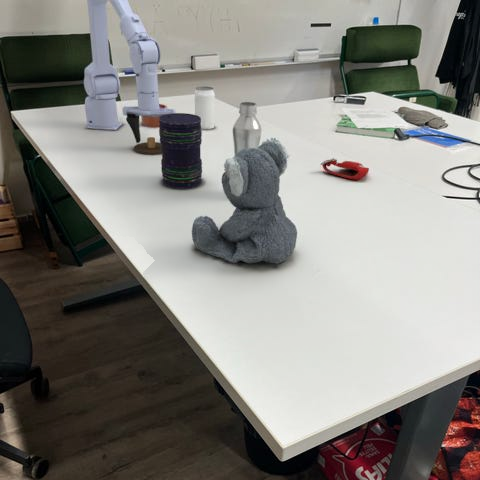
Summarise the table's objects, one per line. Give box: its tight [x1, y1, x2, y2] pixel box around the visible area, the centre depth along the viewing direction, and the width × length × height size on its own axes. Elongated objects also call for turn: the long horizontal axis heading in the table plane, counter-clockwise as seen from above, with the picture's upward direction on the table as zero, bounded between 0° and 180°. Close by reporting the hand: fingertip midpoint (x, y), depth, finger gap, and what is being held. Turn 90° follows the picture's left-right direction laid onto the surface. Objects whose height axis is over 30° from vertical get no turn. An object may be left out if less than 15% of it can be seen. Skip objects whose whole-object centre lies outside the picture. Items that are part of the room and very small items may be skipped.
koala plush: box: [191, 137, 298, 265], centre depth 85 cm, size 17×18×20 cm
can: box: [194, 85, 216, 131], centre depth 156 cm, size 6×6×12 cm
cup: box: [140, 103, 168, 128], centre depth 159 cm, size 9×9×6 cm
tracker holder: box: [320, 157, 370, 181], centre depth 125 cm, size 12×4×10 cm
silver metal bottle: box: [232, 101, 263, 157], centre depth 107 cm, size 6×7×20 cm
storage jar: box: [158, 112, 203, 190], centre depth 114 cm, size 10×10×15 cm
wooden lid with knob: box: [133, 136, 162, 156], centre depth 138 cm, size 10×10×3 cm
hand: (151, 142), depth 137 cm, fingers open, 7 cm apart
